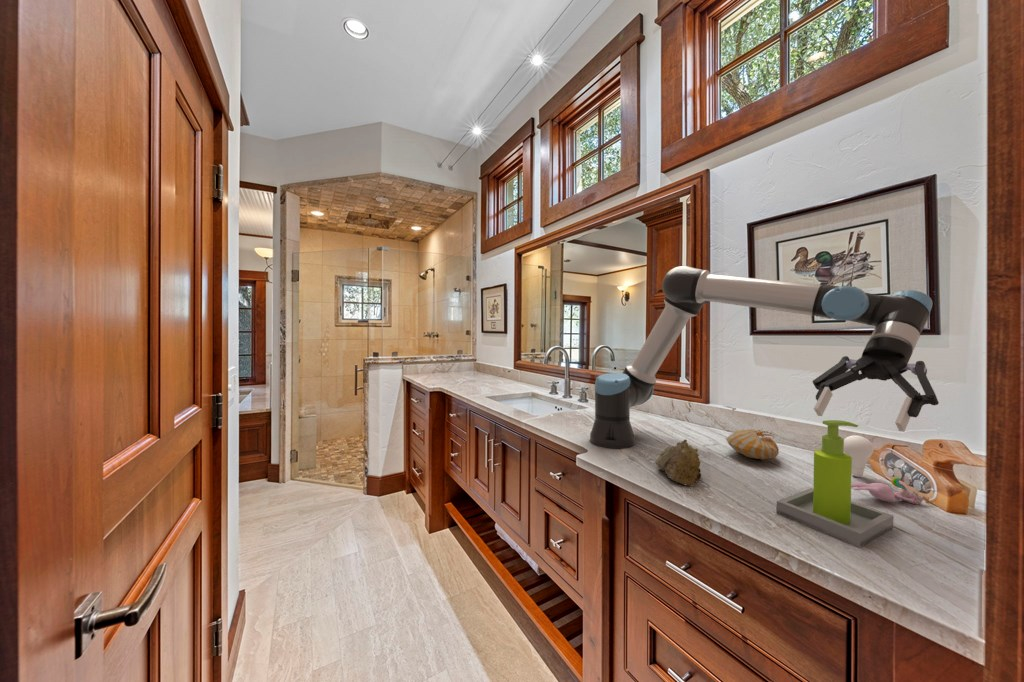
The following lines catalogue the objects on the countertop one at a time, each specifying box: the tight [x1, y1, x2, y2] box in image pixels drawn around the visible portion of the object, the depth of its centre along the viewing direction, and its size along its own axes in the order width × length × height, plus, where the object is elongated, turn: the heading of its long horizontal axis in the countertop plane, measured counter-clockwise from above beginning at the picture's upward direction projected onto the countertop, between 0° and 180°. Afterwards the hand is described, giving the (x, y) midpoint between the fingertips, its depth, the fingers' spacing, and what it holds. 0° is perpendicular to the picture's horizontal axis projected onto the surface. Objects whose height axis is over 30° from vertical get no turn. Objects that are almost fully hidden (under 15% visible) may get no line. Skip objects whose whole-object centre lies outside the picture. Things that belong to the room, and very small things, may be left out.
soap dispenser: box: [812, 420, 859, 524], centre depth 76 cm, size 6×7×20 cm
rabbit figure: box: [851, 477, 931, 506], centre depth 85 cm, size 6×6×15 cm
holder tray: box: [776, 487, 894, 548], centre depth 77 cm, size 14×14×3 cm
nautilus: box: [725, 428, 780, 461], centre depth 114 cm, size 8×22×15 cm
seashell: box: [655, 439, 702, 487], centre depth 100 cm, size 11×14×10 cm
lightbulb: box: [843, 434, 875, 478], centre depth 98 cm, size 6×6×11 cm
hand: (855, 419), depth 78 cm, fingers open, 13 cm apart
